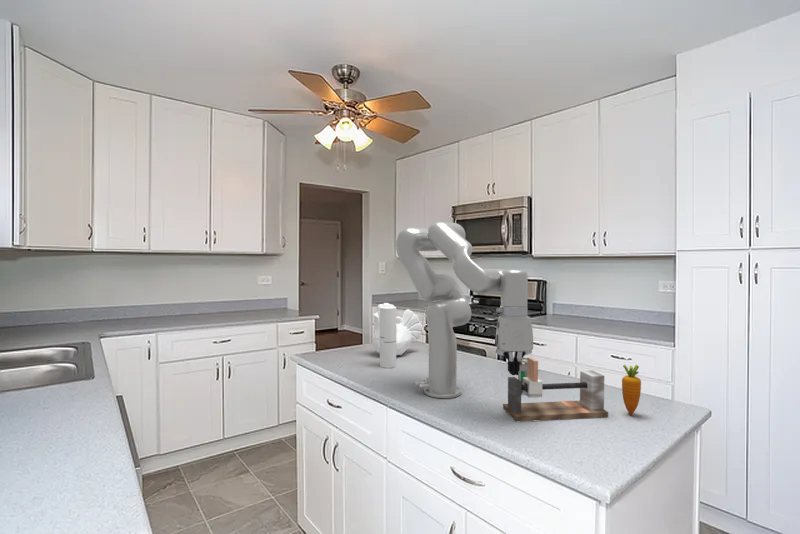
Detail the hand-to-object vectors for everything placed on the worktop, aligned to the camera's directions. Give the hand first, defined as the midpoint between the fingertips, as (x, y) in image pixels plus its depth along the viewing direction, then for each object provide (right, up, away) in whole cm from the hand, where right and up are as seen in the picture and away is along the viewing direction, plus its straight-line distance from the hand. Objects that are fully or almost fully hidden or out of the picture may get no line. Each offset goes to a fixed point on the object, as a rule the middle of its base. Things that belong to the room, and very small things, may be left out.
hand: (513, 373), depth 121 cm
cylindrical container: (-39, -11, +55) cm, 68 cm away
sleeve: (+6, -7, +1) cm, 9 cm away
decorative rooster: (-34, -11, +76) cm, 84 cm away
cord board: (+13, -12, +2) cm, 18 cm away
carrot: (+35, -13, +1) cm, 37 cm away
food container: (+12, -12, +24) cm, 29 cm away
